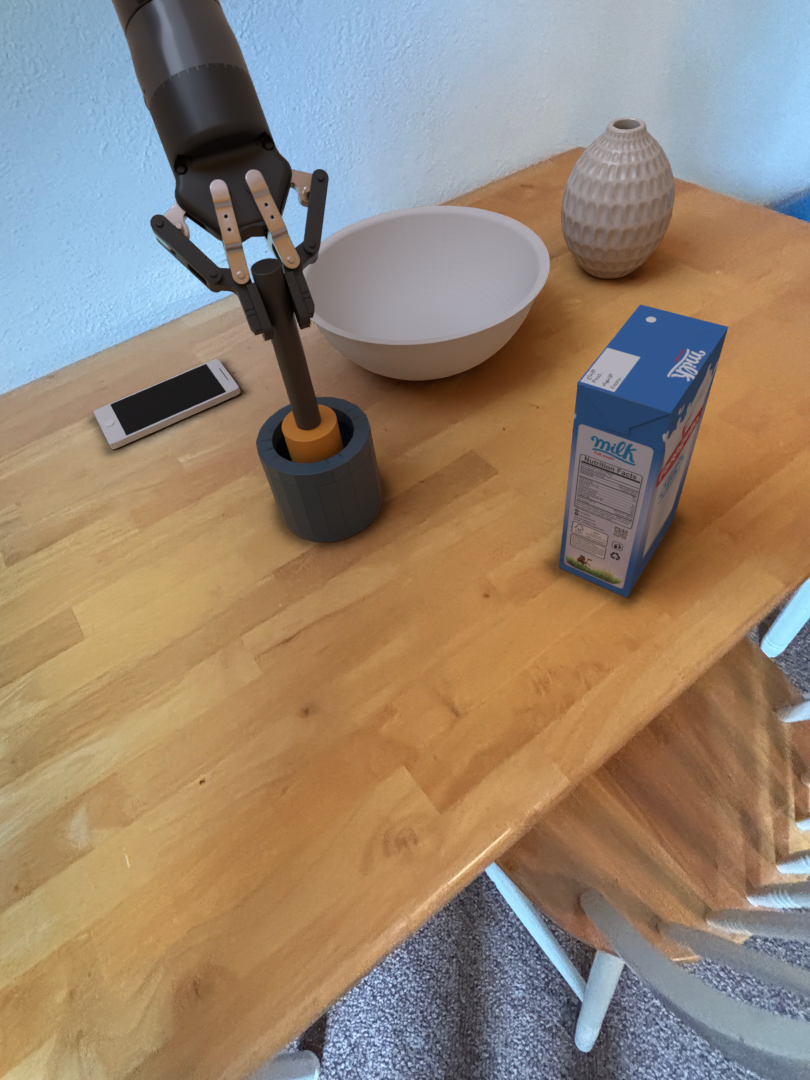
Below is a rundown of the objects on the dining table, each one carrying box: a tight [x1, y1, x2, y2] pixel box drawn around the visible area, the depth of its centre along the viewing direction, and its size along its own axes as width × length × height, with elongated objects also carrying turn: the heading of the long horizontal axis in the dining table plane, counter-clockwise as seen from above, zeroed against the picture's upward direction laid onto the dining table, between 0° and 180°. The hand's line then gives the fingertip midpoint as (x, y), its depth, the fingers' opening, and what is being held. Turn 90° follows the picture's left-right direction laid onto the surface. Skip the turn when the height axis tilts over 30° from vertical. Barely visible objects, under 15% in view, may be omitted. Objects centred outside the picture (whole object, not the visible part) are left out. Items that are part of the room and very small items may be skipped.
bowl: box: [303, 205, 551, 381], centre depth 79 cm, size 27×27×10 cm
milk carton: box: [558, 304, 729, 599], centre depth 54 cm, size 10×6×20 cm, turn 145°
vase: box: [560, 116, 676, 280], centre depth 83 cm, size 13×13×17 cm
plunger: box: [250, 257, 343, 463], centre depth 57 cm, size 5×5×18 cm
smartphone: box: [93, 358, 241, 450], centre depth 81 cm, size 7×15×1 cm, turn 121°
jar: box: [255, 396, 384, 543], centre depth 65 cm, size 10×10×9 cm
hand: (287, 330), depth 52 cm, fingers closed on plunger
